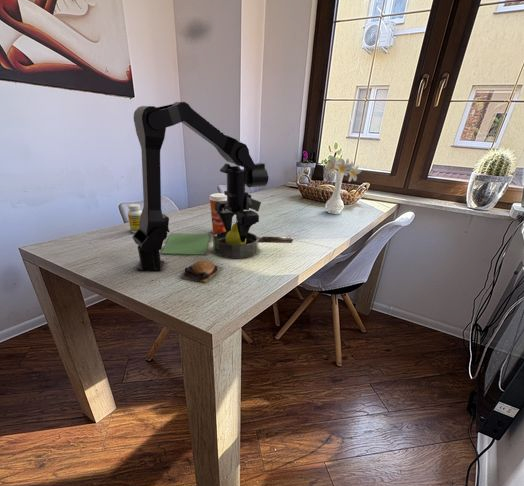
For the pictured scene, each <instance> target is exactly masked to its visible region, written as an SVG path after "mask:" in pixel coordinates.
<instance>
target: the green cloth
mask: <svg viewBox="0 0 524 486" xmlns="http://www.w3.org/2000/svg"><path fill="white" fill-rule="evenodd" d="M209 239H210V234H203V233H202V234H200V233H199V234H197V233H196V234H195V233H170V236H169V237H168V240H167V242H166V243H165V246H164V247H163V249H162V251H161V254H160V255H174V256H175V255H179V256H180V255H181V256H182V255H183V256H206V254H207V250H208V245H209Z"/></svg>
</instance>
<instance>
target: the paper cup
mask: <svg viewBox="0 0 524 486" xmlns="http://www.w3.org/2000/svg"><path fill="white" fill-rule="evenodd" d="M208 200H209V205H210V214H211V215H210V216H211V217H210V218H211V226H212V227H211V229H212V233H213V234H214V235H215V234H217V233H219V232H224V231H226V229H225V227H224V225H223V223H222V221H221V219H220V217H219V215H218V214H217V212H218V211H216V210H215V204H216V202H217V201H227V195H225V194H224V193H222V192H221V193H220V192H218V193H217V192H216V193H212V194H210V195H209V198H208Z"/></svg>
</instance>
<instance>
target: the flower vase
mask: <svg viewBox="0 0 524 486" xmlns="http://www.w3.org/2000/svg"><path fill="white" fill-rule="evenodd" d="M326 165H327V166H325V168H324V170H325V171H327V172H326V175H328V174H330V173H331V172H334V171H335V170H336V171H335V183H334V188H333V192H332V195H331V196H330V198H329V199H327V201H326V202H325V204H324V206H325V209H326V210H327V213H328V214H332V215H338V214H340V212H341V211H342V210H343V209H344V208H345V204H344V201H343V200H342V197H341V189H342V183H343V179H344V176H346V177H347V176H348V175H349V177H348V183H350V182H352V180H353V181H354V182H356V181H357V180H358V175H359V174H360V173H362V169H359V165H356V166H355V164H354V162H353V160H351V162H350V159H349V158H346V160H345V159H344V158H342V157H341V158H339V159H338V160H337V157H336V156H332V157H331V158H330V159H329V162H328V163H327V164H326ZM354 166H355V167H354Z"/></svg>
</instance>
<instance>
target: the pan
mask: <svg viewBox="0 0 524 486" xmlns="http://www.w3.org/2000/svg"><path fill="white" fill-rule="evenodd" d="M226 235H227V232H226V231H224V232H219V233H217V234H214V235H213V236H212V251H213V252H214V253H215V254H217V255H218V256H221V257H224V258H229V259H244V258H245V259H246V258H250V257H253V256H255V255H256V254H257V253H258V252H259V243H258V242H259V239H257V240H256V237H258V236H257V235H256V234H255V233H252V232H250V231H248V234H247V236H246V244H245V245H231V244H226Z"/></svg>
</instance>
